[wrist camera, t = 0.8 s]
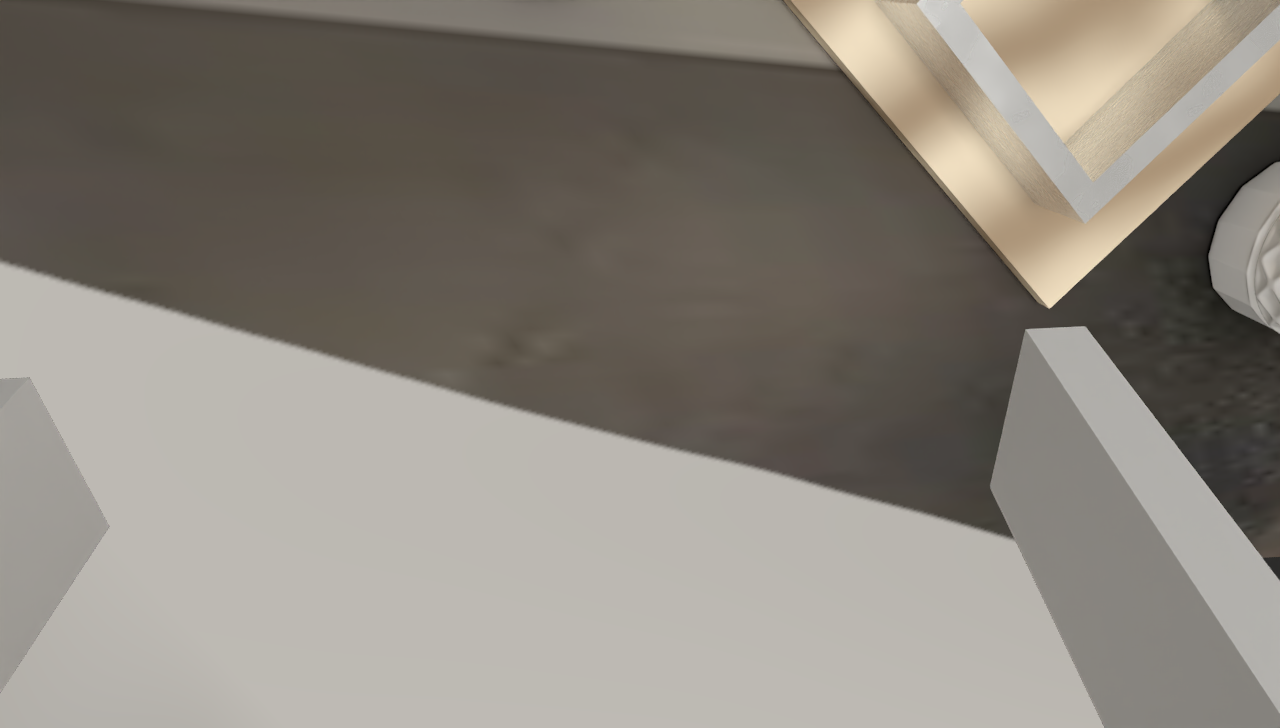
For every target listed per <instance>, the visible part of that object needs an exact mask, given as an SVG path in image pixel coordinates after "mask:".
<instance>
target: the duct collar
mask: <svg viewBox="0 0 1280 728" xmlns="http://www.w3.org/2000/svg"><path fill="white" fill-rule="evenodd" d="M962 1H963V0H875V3H876V4H877V5H878V6H879V8H880V9H881V10H882V11H883V13H884V14H885V15H886V16H887V18H888V19H889V20H890V21H891V23H892V24H893V25H894V27H895V28H896V29H897V30H898V32H899V33H900V34H901V35H902V37H903V38H904V39H905V40H906V42H907V43H908V44H909V46H910V47H911V48H912V49H913V51H914V52H915V53H916V54H917V56H918V57H919V58H920V59H921V61H922V62H923V63H924V64H925V66H926V67H927V68H928V70H929V71H930V72H931V73H932V75H933V76H934V77H935V78H936V80H937V81H938V82H939V83H940V85H941V86H942V87H943V89H944V90H945V91H946V92H947V94H948V95H949V96H950V97H951V99H952V100H953V101H954V102H955V104H956V105H957V106H958V107H959V109H960V110H961V111H962V113H963V114H964V115H965V116H966V118H967V119H968V120H969V121H970V123H971V124H972V125H973V126H974V128H975V129H976V130H977V132H978V133H979V134H980V135H981V137H982V138H983V139H984V140H985V142H986V143H987V144H988V145H989V147H990V148H991V149H992V151H993V152H994V153H995V154H996V156H997V157H998V158H999V159H1000V161H1001V162H1002V163H1003V164H1004V166H1005V167H1006V168H1007V169H1008V171H1009V172H1010V173H1011V175H1012V176H1013V177H1014V178H1015V180H1016V181H1017V182H1018V183H1019V185H1020V186H1021V187H1022V188H1023V190H1024V191H1025V192H1026V194H1027V195H1028V196H1029V197H1030V199H1031V200H1032V201H1033V202H1034V204H1036V205H1039V206H1041V207H1044V208H1046V209H1049V210H1051V211H1054V212H1056V213H1059V214H1062V215H1064V216H1067V217H1069V218H1072V219H1074V220H1077V221H1079V222H1082V223H1084V224H1086V223H1087V222H1088V221H1089V220H1090V219H1091V218H1092V217H1093V216H1094V215H1095V214H1096V213H1097V212H1098V211H1099V210H1100V209H1101V208H1103V207H1104V206H1105V205H1106V204H1107V203H1108V202H1109V201H1110V200H1111V199H1112V198H1113V197H1114V196H1115V195H1116V194H1117V193H1118V192H1119V191H1121V190H1122V189H1123V188H1124V187H1125V186H1126V185H1127V184H1128V183H1129V182H1130V181H1131V180H1132V179H1133V178H1134V177H1135V176H1136V175H1137V174H1138V173H1140V172H1141V171H1142V170H1143V169H1144V168H1145V167H1146V166H1147V165H1148V164H1149V163H1150V162H1151V161H1152V160H1153V159H1154V158H1155V157H1156V156H1158V155H1159V154H1160V153H1161V152H1162V151H1163V150H1164V149H1165V148H1166V147H1167V146H1168V145H1169V144H1170V143H1171V142H1172V141H1173V140H1174V139H1175V138H1177V137H1178V136H1179V135H1180V134H1181V133H1182V132H1183V131H1184V130H1185V129H1186V128H1187V127H1188V126H1189V125H1190V124H1191V123H1192V122H1193V121H1194V120H1196V119H1197V118H1198V117H1199V116H1200V115H1201V114H1202V113H1203V112H1204V111H1205V110H1206V109H1207V108H1208V107H1209V106H1210V105H1211V104H1212V103H1214V102H1215V101H1216V100H1217V99H1218V98H1219V97H1220V96H1221V95H1222V94H1223V93H1224V92H1225V91H1226V90H1227V89H1228V88H1229V87H1230V86H1231V85H1233V84H1234V83H1235V82H1236V81H1237V80H1238V79H1239V78H1240V77H1241V76H1242V75H1243V74H1244V73H1245V72H1246V71H1247V70H1248V69H1249V68H1250V67H1252V66H1253V65H1254V64H1255V63H1256V62H1257V61H1258V60H1259V59H1260V58H1261V57H1262V56H1263V55H1264V54H1265V53H1266V52H1267V51H1268V50H1270V49H1271V48H1272V47H1273V46H1274V45H1275V44H1276V43H1277V42H1278V41H1279V40H1280V0H1211V1H1210V2H1209V3H1208V4H1207V5H1206V6H1205V7H1204V8H1203V9H1202V10H1201V11H1200V12H1199V13H1198V14H1197V15H1196V16H1195V17H1194V18H1193V19H1192V20H1191V21H1190V22H1189V23H1188V24H1187V25H1186V26H1185V27H1184V28H1183V29H1182V30H1180V31H1179V32H1178V33H1177V34H1176V35H1175V36H1174V37H1173V38H1172V39H1171V40H1170V41H1169V42H1168V43H1167V44H1166V45H1165V46H1164V47H1163V48H1162V49H1161V50H1160V51H1159V52H1158V53H1157V54H1156V55H1155V56H1154V57H1153V58H1152V59H1151V60H1150V61H1149V62H1147V63H1146V64H1145V65H1144V66H1143V67H1142V68H1141V69H1140V70H1139V71H1138V72H1137V73H1136V74H1135V75H1134V76H1133V77H1132V78H1131V79H1130V80H1129V81H1128V82H1127V83H1126V84H1125V85H1124V86H1123V87H1122V88H1121V89H1120V90H1119V91H1118V92H1117V93H1116V94H1114V95H1113V96H1112V97H1111V98H1110V99H1109V100H1108V101H1107V102H1106V103H1105V104H1104V105H1103V106H1102V107H1101V108H1100V109H1099V110H1098V111H1097V112H1096V113H1095V114H1094V115H1093V116H1092V117H1091V118H1090V119H1089V120H1088V121H1087V122H1086V123H1085V124H1084V125H1083V126H1081V127H1080V128H1079V129H1078V130H1077V131H1076V132H1075V133H1074V134H1073V135H1072V136H1071V137H1070V138H1069V139H1068V140H1067V141H1066V142H1065V143H1063V141H1062V140H1061V139H1060V137H1059V136H1058V135H1057V133H1056V132H1055V131H1054V129H1053V128H1052V126H1051V125H1050V124H1049V122H1048V121H1047V120H1046V118H1045V117H1044V116H1043V114H1042V113H1041V112H1040V110H1039V109H1038V108H1037V106H1036V105H1035V104H1034V102H1033V101H1032V100H1031V98H1030V97H1029V95H1028V94H1027V93H1026V91H1025V90H1024V89H1023V87H1022V86H1021V85H1020V83H1019V82H1018V81H1017V79H1016V78H1015V77H1014V75H1013V74H1012V73H1011V71H1010V70H1009V69H1008V67H1007V66H1006V64H1005V63H1004V62H1003V60H1002V59H1001V58H1000V56H999V55H998V54H997V52H996V51H995V50H994V48H993V47H992V46H991V44H990V43H989V42H988V40H987V39H986V38H985V36H984V35H983V33H982V32H981V31H980V29H979V28H978V27H977V25H976V24H975V23H974V21H973V20H972V19H971V17H970V16H969V15H968V13H967V12H966V11H965V9H964V8H963V7H962V5H961V4H960V3H961V2H962Z"/></svg>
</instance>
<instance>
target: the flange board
mask: <svg viewBox="0 0 1280 728" xmlns="http://www.w3.org/2000/svg"><path fill="white" fill-rule="evenodd" d="M783 1H784V2H785V3H786V4H787V6H788V7H789V8H790V9H791V10H792V11H793V13H794V14H795V15H796V16H797V17H798V19H799V20H800V21H801V22H802V23H803V25H804V26H805V27H806V28H807V29H808V30H809V32H810V33H811V34H812V35H813V36H814V38H815V39H816V40H817V41H818V42H819V43H820V45H821V46H822V47H823V48H824V49H825V51H826V52H827V53H828V54H829V55H830V57H831V58H832V59H833V60H834V61H835V62H836V64H837V65H838V66H839V67H840V68H841V70H842V71H843V72H844V73H845V74H846V76H847V77H848V78H849V79H850V80H851V81H852V83H853V84H854V85H855V86H856V87H857V89H858V90H859V91H860V92H861V93H862V94H863V96H864V97H865V98H866V99H867V100H868V102H869V103H870V104H871V105H872V106H873V108H874V109H875V110H876V111H877V112H878V113H879V115H880V116H881V117H882V118H883V119H884V121H885V122H886V123H887V124H888V125H889V127H890V128H891V129H892V130H893V131H894V132H895V134H896V135H897V136H898V137H899V138H900V140H901V141H902V142H903V143H904V144H905V145H906V147H907V148H908V149H909V150H910V151H911V153H912V154H913V155H914V156H915V157H916V159H917V160H918V161H919V162H920V163H921V164H922V166H923V167H924V168H925V169H926V170H927V172H928V173H929V174H930V175H931V176H932V177H933V179H934V180H935V181H936V182H937V183H938V185H939V186H940V187H941V188H942V189H943V191H944V192H945V193H946V194H947V195H948V196H949V198H950V199H951V200H952V201H953V202H954V204H955V205H956V206H957V207H958V208H959V210H960V211H961V212H962V213H963V214H964V215H965V217H966V218H967V219H968V220H969V221H970V223H971V224H972V225H973V226H974V227H975V228H976V230H977V231H978V232H979V233H980V234H981V236H982V237H983V238H984V239H985V240H986V242H987V243H988V244H989V245H990V246H991V247H992V249H993V250H994V251H995V252H996V253H997V255H998V256H999V257H1000V258H1001V259H1002V261H1003V262H1004V263H1005V264H1006V265H1007V266H1008V268H1009V269H1010V270H1011V271H1012V272H1013V274H1014V275H1015V276H1016V277H1017V278H1018V279H1019V281H1020V282H1021V283H1022V284H1023V285H1024V287H1025V288H1026V289H1027V290H1028V291H1029V293H1030V294H1031V295H1032V296H1033V297H1034V298H1035V300H1036V301H1037V302H1038V303H1040V304H1042V305H1044V306H1045V307H1047V308H1049V309H1050V308H1051V307H1052V306H1053V305H1054V304H1055V303H1056V302H1057V301H1058V300H1059V299H1060V298H1062V297H1063V296H1064V295H1065V294H1066V293H1067V292H1068V291H1069V290H1070V289H1071V288H1072V287H1073V286H1074V285H1075V284H1077V283H1078V282H1079V281H1080V280H1081V279H1082V278H1083V277H1084V276H1085V275H1086V274H1087V273H1088V272H1089V271H1090V270H1092V269H1093V268H1094V267H1095V266H1096V265H1097V264H1098V263H1099V262H1100V261H1101V260H1102V259H1103V258H1104V257H1105V256H1106V255H1108V254H1109V253H1110V252H1111V251H1112V250H1113V249H1114V248H1115V247H1116V246H1117V245H1118V244H1119V243H1120V242H1121V241H1123V240H1124V239H1125V238H1126V237H1127V236H1128V235H1129V234H1130V233H1131V232H1132V231H1133V230H1134V229H1135V228H1136V227H1138V226H1139V225H1140V224H1141V223H1142V222H1143V221H1144V220H1145V219H1146V218H1147V217H1148V216H1149V215H1150V214H1151V213H1153V212H1154V211H1155V210H1156V209H1157V208H1158V207H1159V206H1160V205H1161V204H1162V203H1163V202H1164V201H1165V200H1166V199H1167V198H1169V197H1170V196H1171V195H1172V194H1173V193H1174V192H1175V191H1176V190H1177V189H1178V188H1179V187H1180V186H1181V185H1182V184H1184V183H1185V182H1186V181H1187V180H1188V179H1189V178H1190V177H1191V176H1192V175H1193V174H1194V173H1195V172H1196V171H1197V170H1199V169H1200V168H1201V167H1202V166H1203V165H1204V164H1205V163H1206V162H1207V161H1208V160H1209V159H1210V158H1211V157H1212V156H1214V155H1215V154H1216V153H1217V152H1218V151H1219V150H1220V149H1221V148H1222V147H1223V146H1224V145H1225V144H1226V143H1227V142H1228V141H1230V140H1231V139H1232V138H1233V137H1234V136H1235V135H1236V134H1237V133H1238V132H1239V131H1240V130H1241V129H1242V128H1243V127H1245V126H1246V125H1247V124H1248V123H1249V122H1250V121H1251V120H1252V119H1253V118H1254V117H1255V116H1256V115H1257V114H1258V113H1260V112H1261V111H1262V110H1263V109H1264V108H1265V107H1266V106H1267V105H1268V104H1269V103H1270V102H1271V101H1272V100H1273V99H1274V98H1276V97H1277V96H1278V95H1279V94H1280V40H1279V41H1278V42H1277V43H1276V44H1275V45H1274V46H1273V47H1272V48H1271V49H1270V50H1268V51H1267V52H1266V53H1265V54H1264V55H1263V56H1262V57H1261V58H1260V59H1259V60H1258V61H1257V62H1256V63H1255V64H1254V65H1253V66H1252V67H1250V68H1249V69H1248V70H1247V71H1246V72H1245V73H1244V74H1243V75H1242V76H1241V77H1240V78H1239V79H1238V80H1237V81H1236V82H1235V83H1234V84H1233V85H1231V86H1230V87H1229V88H1228V89H1227V90H1226V91H1225V92H1224V93H1223V94H1222V95H1221V96H1220V97H1219V98H1218V99H1217V100H1216V101H1215V102H1214V103H1212V104H1211V105H1210V106H1209V107H1208V108H1207V109H1206V110H1205V111H1204V112H1203V113H1202V114H1201V115H1200V116H1199V117H1198V118H1197V119H1196V120H1194V121H1193V122H1192V123H1191V124H1190V125H1189V126H1188V127H1187V128H1186V129H1185V130H1184V131H1183V132H1182V133H1181V134H1180V135H1179V136H1178V137H1177V138H1175V139H1174V140H1173V141H1172V142H1171V143H1170V144H1169V145H1168V146H1167V147H1166V148H1165V149H1164V150H1163V151H1162V152H1161V153H1160V154H1159V155H1158V156H1156V157H1155V158H1154V159H1153V160H1152V161H1151V162H1150V163H1149V164H1148V165H1147V166H1146V167H1145V168H1144V169H1143V170H1142V171H1141V172H1140V173H1138V174H1137V175H1136V176H1135V177H1134V178H1133V179H1132V180H1131V181H1130V182H1129V183H1128V184H1127V185H1126V186H1125V187H1124V188H1123V189H1122V190H1121V191H1119V192H1118V193H1117V194H1116V195H1115V196H1114V197H1113V198H1112V199H1111V200H1110V201H1109V202H1108V203H1107V204H1106V205H1105V206H1104V207H1103V208H1101V209H1100V210H1099V211H1098V212H1097V213H1096V214H1095V215H1094V216H1093V217H1092V218H1091V219H1090V220H1089V221H1088V222H1087V223H1086V224H1084V223H1082V222H1079V221H1077V220H1074V219H1072V218H1069V217H1067V216H1064V215H1062V214H1059V213H1056V212H1054V211H1051V210H1049V209H1046V208H1044V207H1041V206H1039V205H1036V204H1034V202H1033V201H1032V200H1031V199H1030V197H1029V196H1028V195H1027V194H1026V192H1025V191H1024V190H1023V188H1022V187H1021V186H1020V185H1019V183H1018V182H1017V181H1016V180H1015V178H1014V177H1013V176H1012V175H1011V173H1010V172H1009V171H1008V169H1007V168H1006V167H1005V166H1004V164H1003V163H1002V162H1001V161H1000V159H999V158H998V157H997V156H996V154H995V153H994V152H993V151H992V149H991V148H990V147H989V145H988V144H987V143H986V142H985V140H984V139H983V138H982V137H981V135H980V134H979V133H978V132H977V130H976V129H975V128H974V126H973V125H972V124H971V123H970V121H969V120H968V119H967V118H966V116H965V115H964V114H963V113H962V111H961V110H960V109H959V107H958V106H957V105H956V104H955V102H954V101H953V100H952V99H951V97H950V96H949V95H948V94H947V92H946V91H945V90H944V89H943V87H942V86H941V85H940V83H939V82H938V81H937V80H936V78H935V77H934V76H933V75H932V73H931V72H930V71H929V70H928V68H927V67H926V66H925V64H924V63H923V62H922V61H921V59H920V58H919V57H918V56H917V54H916V53H915V52H914V51H913V49H912V48H911V47H910V46H909V44H908V43H907V42H906V40H905V39H904V38H903V37H902V35H901V34H900V33H899V32H898V30H897V29H896V28H895V27H894V25H893V24H892V23H891V21H890V20H889V19H888V18H887V16H886V15H885V14H884V13H883V11H882V10H881V9H880V8H879V6H878V5H877V4H876V3H875V0H783ZM1210 1H1211V0H963V1H962V2H961V3H960V4H961V5H962V7H963V8H964V9H965V11H966V12H967V13H968V15H969V16H970V17H971V19H972V20H973V21H974V23H975V24H976V25H977V27H978V28H979V29H980V31H981V32H982V33H983V35H984V36H985V38H986V39H987V40H988V42H989V43H990V44H991V46H992V47H993V48H994V50H995V51H996V52H997V54H998V55H999V56H1000V58H1001V59H1002V60H1003V62H1004V63H1005V64H1006V66H1007V67H1008V69H1009V70H1010V71H1011V73H1012V74H1013V75H1014V77H1015V78H1016V79H1017V81H1018V82H1019V83H1020V85H1021V86H1022V87H1023V89H1024V90H1025V91H1026V93H1027V94H1028V95H1029V97H1030V98H1031V100H1032V101H1033V102H1034V104H1035V105H1036V106H1037V108H1038V109H1039V110H1040V112H1041V113H1042V114H1043V116H1044V117H1045V118H1046V120H1047V121H1048V122H1049V124H1050V125H1051V126H1052V128H1053V129H1054V131H1055V132H1056V133H1057V135H1058V136H1059V137H1060V139H1061V140H1062V141H1063V143H1065V142H1066V141H1067V140H1068V139H1069V138H1070V137H1071V136H1072V135H1073V134H1074V133H1075V132H1076V131H1077V130H1078V129H1079V128H1080V127H1081V126H1083V125H1084V124H1085V123H1086V122H1087V121H1088V120H1089V119H1090V118H1091V117H1092V116H1093V115H1094V114H1095V113H1096V112H1097V111H1098V110H1099V109H1100V108H1101V107H1102V106H1103V105H1104V104H1105V103H1106V102H1107V101H1108V100H1109V99H1110V98H1111V97H1112V96H1113V95H1114V94H1116V93H1117V92H1118V91H1119V90H1120V89H1121V88H1122V87H1123V86H1124V85H1125V84H1126V83H1127V82H1128V81H1129V80H1130V79H1131V78H1132V77H1133V76H1134V75H1135V74H1136V73H1137V72H1138V71H1139V70H1140V69H1141V68H1142V67H1143V66H1144V65H1145V64H1146V63H1147V62H1149V61H1150V60H1151V59H1152V58H1153V57H1154V56H1155V55H1156V54H1157V53H1158V52H1159V51H1160V50H1161V49H1162V48H1163V47H1164V46H1165V45H1166V44H1167V43H1168V42H1169V41H1170V40H1171V39H1172V38H1173V37H1174V36H1175V35H1176V34H1177V33H1178V32H1179V31H1180V30H1182V29H1183V28H1184V27H1185V26H1186V25H1187V24H1188V23H1189V22H1190V21H1191V20H1192V19H1193V18H1194V17H1195V16H1196V15H1197V14H1198V13H1199V12H1200V11H1201V10H1202V9H1203V8H1204V7H1205V6H1206V5H1207V4H1208V3H1209V2H1210Z"/></svg>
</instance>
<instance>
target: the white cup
mask: <svg viewBox="0 0 1280 728" xmlns="http://www.w3.org/2000/svg"><path fill="white" fill-rule="evenodd" d="M1208 259H1209V266H1210V272H1211V279H1212V285H1213V288H1214V290H1215V291H1216V292H1217V293H1218V294H1219V295H1220V296H1221V297H1222V299H1223V300H1224V301H1225V302H1226V303H1227V304H1228V305H1229V307H1230V308H1231V309H1233V310H1234V311H1236V312H1238V313H1240V314H1243V315H1245V316H1247V317H1249V318H1251V319H1253V320H1255V321H1257V322H1259V323H1261V324H1263V325H1265V326H1267V327H1269V328H1272V329H1274V330H1275V331H1276V332H1278V333H1279V334H1280V162H1276V163H1274V164H1272V165H1271V166H1269V167H1268V168H1267V169H1265V170H1264V171H1263V172H1261V173H1260V174H1259V175H1257V176H1256V177H1254V178H1253V179H1252V180H1250V181H1249V182H1248V183H1246V184H1245V185H1244V186H1242V187H1241V189H1240V190H1239V192H1238V193H1237V194H1236V196H1235V197H1234V199H1233V200H1232V201H1231V203H1230V204H1229V206H1228V207H1227V209H1226V210H1225V212H1224V213H1223V214H1222V216H1221V217H1220V219H1219V220H1218V223H1217V227H1216V230H1215V234H1214V237H1213V241H1212V244H1211V248H1210V251H1209V255H1208Z"/></svg>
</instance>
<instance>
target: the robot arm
mask: <svg viewBox="0 0 1280 728" xmlns="http://www.w3.org/2000/svg"><path fill="white" fill-rule="evenodd" d="M990 488H991V490H992V493H993V495H994V497H995V499H996V501H997V503H998V505H999V507H1000V509H1001V511H1002V514H1003V516H1004V518H1005V520H1006V522H1007V524H1008V526H1009V528H1010V530H1011V532H1012V535H1013V537H1014V539H1015V541H1016V543H1017V545H1018V547H1019V549H1020V551H1021V553H1022V556H1023V558H1024V560H1025V562H1026V564H1027V566H1028V568H1029V570H1030V572H1031V574H1032V576H1033V579H1034V581H1035V583H1036V585H1037V587H1038V589H1039V591H1040V593H1041V595H1042V598H1043V600H1044V602H1045V604H1046V606H1047V608H1048V610H1049V612H1050V614H1051V616H1052V619H1053V620H1054V623H1055V625H1056V627H1057V629H1058V631H1059V633H1060V635H1061V637H1062V640H1063V642H1064V644H1065V646H1066V648H1067V650H1068V652H1069V654H1070V656H1071V658H1072V661H1073V663H1074V664H1075V667H1076V669H1077V671H1078V673H1079V675H1080V677H1081V679H1082V682H1083V684H1084V686H1085V688H1086V690H1087V692H1088V694H1089V696H1090V698H1091V700H1092V703H1093V705H1094V707H1095V709H1096V711H1097V713H1098V715H1099V717H1100V719H1101V721H1102V724H1103V726H1104V728H1280V557H1271V558H1262V557H1261V556H1260V554H1259V553H1258V552H1257V550H1256V549H1255V548H1254V546H1253V545H1252V544H1251V543H1250V541H1249V540H1248V539H1247V537H1246V536H1245V535H1244V533H1243V532H1242V531H1241V529H1240V528H1239V527H1238V526H1237V524H1236V523H1235V522H1234V520H1233V519H1232V518H1231V516H1230V515H1229V514H1228V512H1227V511H1226V510H1225V509H1224V507H1223V506H1222V505H1221V503H1220V502H1219V501H1218V499H1217V498H1216V497H1215V495H1214V494H1213V493H1212V492H1211V490H1210V489H1209V488H1208V486H1207V485H1206V484H1205V482H1204V481H1203V480H1202V478H1201V477H1200V476H1199V475H1198V473H1197V472H1196V471H1195V469H1194V468H1193V467H1192V465H1191V464H1190V463H1189V461H1188V460H1187V459H1186V458H1185V456H1184V455H1183V454H1182V452H1181V451H1180V450H1179V448H1178V447H1177V446H1176V444H1175V443H1174V442H1173V441H1172V439H1171V438H1170V437H1169V435H1168V434H1167V433H1166V431H1165V430H1164V429H1163V427H1162V426H1161V425H1160V424H1159V422H1158V421H1157V420H1156V418H1155V417H1154V416H1153V414H1152V413H1151V412H1150V410H1149V409H1148V408H1147V407H1146V405H1145V404H1144V403H1143V401H1142V400H1141V399H1140V397H1139V396H1138V395H1137V393H1136V392H1135V391H1134V390H1133V388H1132V387H1131V386H1130V384H1129V383H1128V382H1127V380H1126V379H1125V378H1124V376H1123V375H1122V374H1121V373H1120V371H1119V370H1118V369H1117V367H1116V366H1115V365H1114V363H1113V362H1112V361H1111V359H1110V358H1109V357H1108V356H1107V354H1106V353H1105V352H1104V350H1103V349H1102V348H1101V346H1100V345H1099V344H1098V343H1097V341H1096V340H1095V339H1094V337H1093V336H1092V335H1091V333H1090V332H1089V331H1088V329H1087V328H1086V327H1085V326H1083V327H1062V328H1042V329H1025V334H1024V338H1023V343H1022V347H1021V352H1020V356H1019V360H1018V365H1017V369H1016V374H1015V378H1014V383H1013V387H1012V392H1011V396H1010V400H1009V405H1008V409H1007V414H1006V418H1005V423H1004V427H1003V431H1002V436H1001V440H1000V445H999V449H998V454H997V458H996V463H995V467H994V471H993V476H992V480H991V485H990ZM108 528H109V525H108V523H107V521H106V519H105V517H104V516H103V513H102V512H101V510H100V508H99V506H98V504H97V502H96V501H95V499H94V497H93V495H92V493H91V491H90V489H89V487H88V486H87V484H86V482H85V480H84V478H83V476H82V474H81V472H80V471H79V469H78V467H77V465H76V463H75V461H74V459H73V458H72V456H71V454H70V452H69V450H68V448H67V446H66V445H65V443H64V441H63V439H62V437H61V435H60V434H59V431H58V430H57V428H56V426H55V424H54V422H53V420H52V418H51V417H50V415H49V413H48V411H47V409H46V407H45V406H44V404H43V402H42V400H41V398H40V396H39V394H38V392H37V391H36V389H35V387H34V385H33V383H32V381H31V379H30V378H10V379H0V693H1V691H2V690H3V688H4V687H5V685H6V684H7V682H8V681H9V679H10V677H11V676H12V674H13V673H14V671H15V670H16V668H17V667H18V665H19V664H20V662H21V661H22V659H23V657H24V656H25V655H26V653H27V652H28V650H29V649H30V647H31V645H32V644H33V642H34V641H35V639H36V638H37V636H38V635H39V633H40V632H41V630H42V629H43V627H44V626H45V624H46V623H47V621H48V620H49V618H50V617H51V615H52V613H53V612H54V610H55V609H56V607H57V606H58V604H59V603H60V601H61V600H62V598H63V597H64V595H65V594H66V592H67V591H68V589H69V587H70V586H71V584H72V583H73V581H74V580H75V578H76V577H77V575H78V574H79V572H80V571H81V569H82V568H83V566H84V565H85V563H86V562H87V560H88V559H89V557H90V555H91V554H92V552H93V551H94V549H95V548H96V546H97V545H98V543H99V542H100V540H101V539H102V537H103V536H104V534H105V533H106V531H107V530H108Z"/></svg>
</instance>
